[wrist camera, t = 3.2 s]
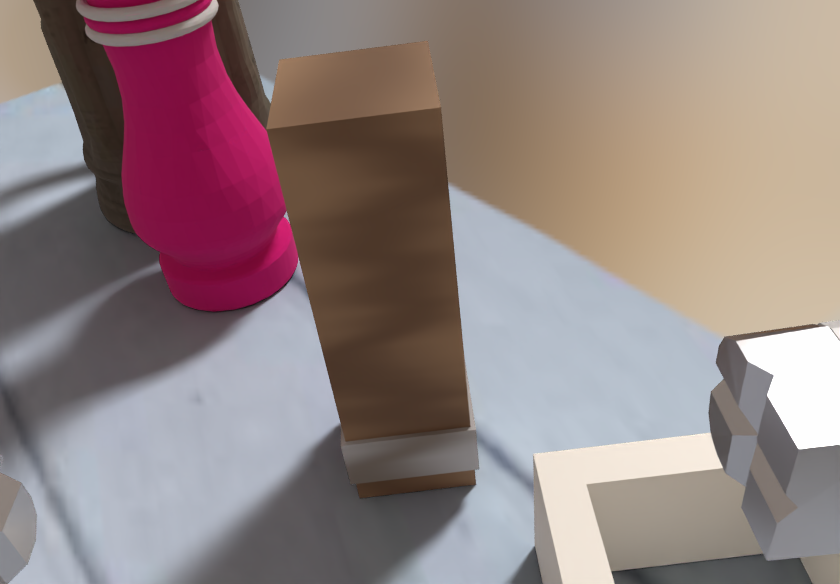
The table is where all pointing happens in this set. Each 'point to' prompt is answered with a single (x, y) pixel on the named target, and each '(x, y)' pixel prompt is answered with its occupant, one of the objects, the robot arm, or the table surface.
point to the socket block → (642, 511)
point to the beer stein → (100, 95)
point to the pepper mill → (193, 155)
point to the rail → (379, 259)
